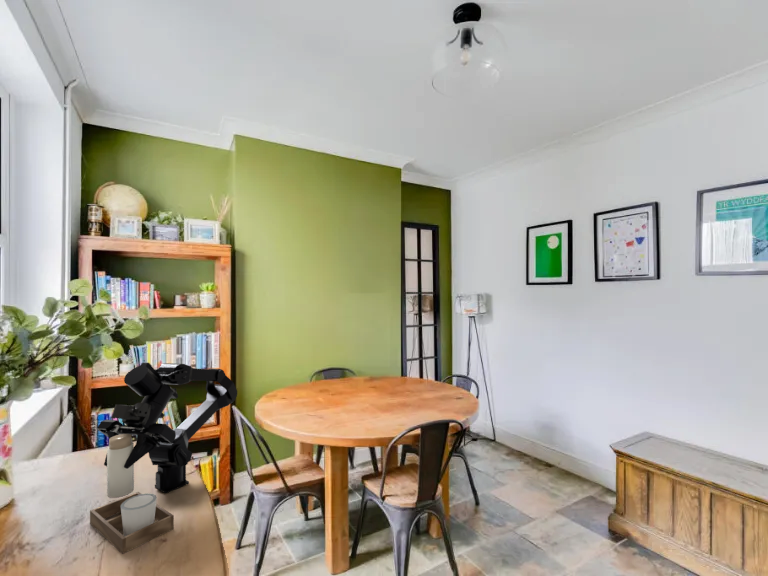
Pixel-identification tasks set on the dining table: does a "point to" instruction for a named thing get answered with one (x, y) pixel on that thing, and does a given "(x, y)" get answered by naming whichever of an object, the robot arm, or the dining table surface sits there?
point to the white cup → (138, 512)
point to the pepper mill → (119, 466)
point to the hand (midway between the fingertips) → (115, 466)
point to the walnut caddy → (115, 524)
